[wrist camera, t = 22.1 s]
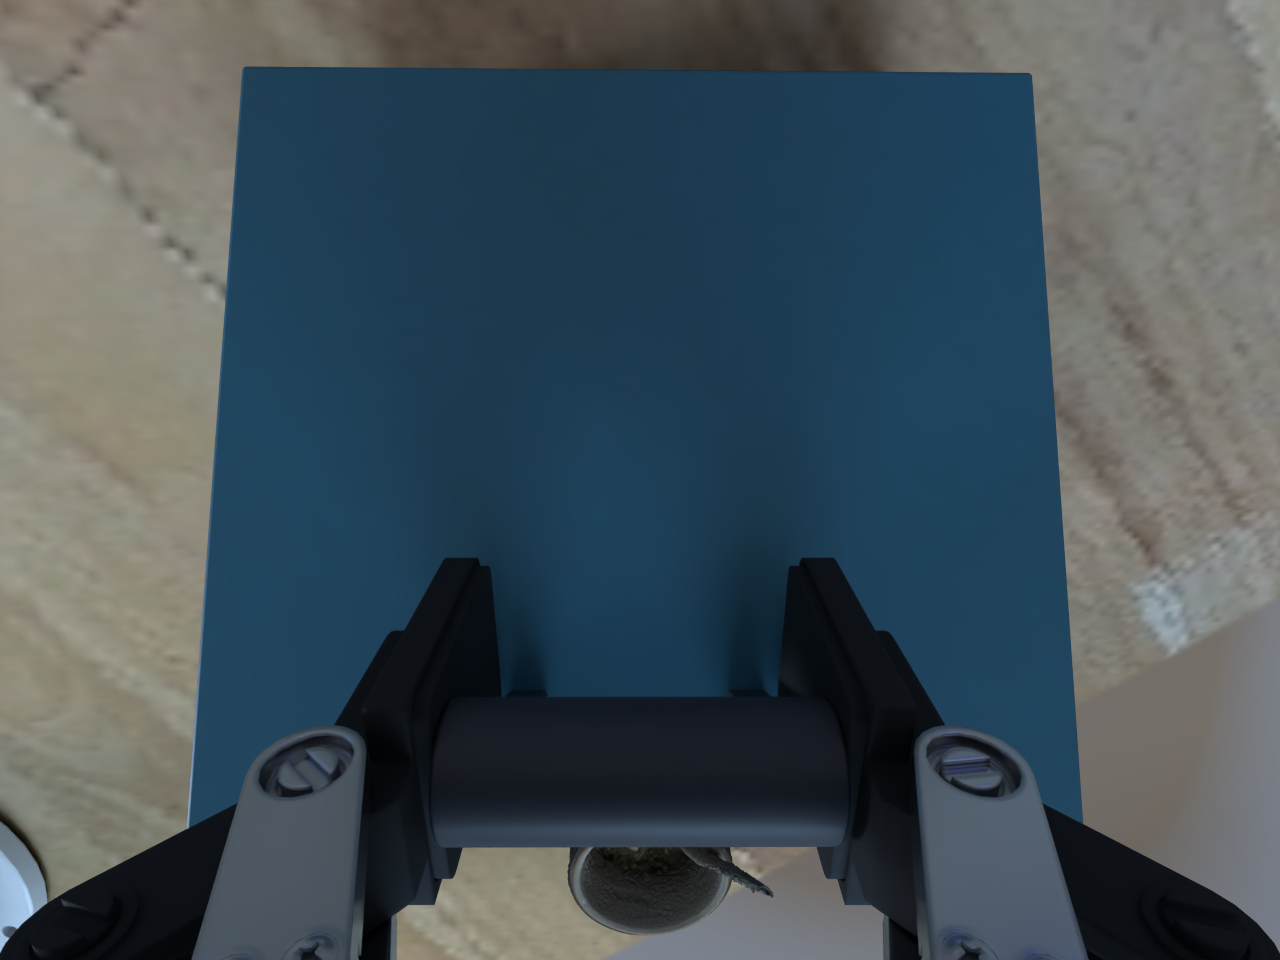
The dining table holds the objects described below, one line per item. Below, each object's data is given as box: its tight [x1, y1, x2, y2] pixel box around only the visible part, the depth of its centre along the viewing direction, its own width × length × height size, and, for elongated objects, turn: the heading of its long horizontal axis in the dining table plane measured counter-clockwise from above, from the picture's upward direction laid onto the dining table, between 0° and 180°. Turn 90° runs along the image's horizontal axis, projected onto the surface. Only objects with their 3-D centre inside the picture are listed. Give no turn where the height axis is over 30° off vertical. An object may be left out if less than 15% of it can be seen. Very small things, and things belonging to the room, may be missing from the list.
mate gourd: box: [568, 847, 773, 935], centre depth 26 cm, size 7×8×10 cm
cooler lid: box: [187, 67, 1083, 847], centre depth 11 cm, size 15×16×5 cm
